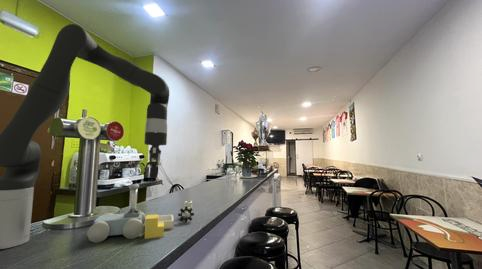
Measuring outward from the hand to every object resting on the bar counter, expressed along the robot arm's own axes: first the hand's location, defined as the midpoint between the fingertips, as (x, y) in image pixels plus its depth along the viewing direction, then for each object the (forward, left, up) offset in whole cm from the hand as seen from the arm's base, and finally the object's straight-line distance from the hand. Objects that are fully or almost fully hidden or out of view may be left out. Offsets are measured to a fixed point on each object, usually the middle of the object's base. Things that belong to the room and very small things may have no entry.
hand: (154, 176), depth 78 cm
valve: (+14, +17, -21) cm, 30 cm away
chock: (+1, 0, -20) cm, 20 cm away
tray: (+3, +9, -20) cm, 22 cm away
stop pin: (-7, +5, -14) cm, 17 cm away
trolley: (-11, +5, -20) cm, 24 cm away
